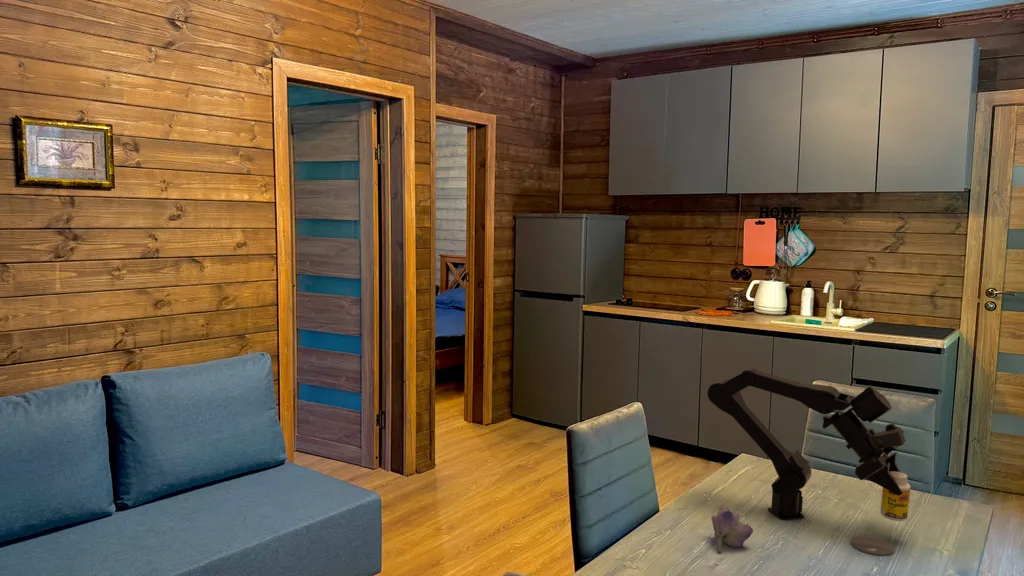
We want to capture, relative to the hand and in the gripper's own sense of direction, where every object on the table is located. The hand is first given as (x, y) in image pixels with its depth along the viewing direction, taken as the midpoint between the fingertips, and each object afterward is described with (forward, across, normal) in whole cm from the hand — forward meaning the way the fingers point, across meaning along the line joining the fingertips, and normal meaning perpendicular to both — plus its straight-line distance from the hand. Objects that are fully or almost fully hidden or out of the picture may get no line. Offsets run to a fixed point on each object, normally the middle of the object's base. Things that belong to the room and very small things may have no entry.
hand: (903, 490), depth 167 cm
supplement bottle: (+4, 0, +6) cm, 7 cm away
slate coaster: (+6, -7, +12) cm, 15 cm away
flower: (-12, -28, +30) cm, 43 cm away
